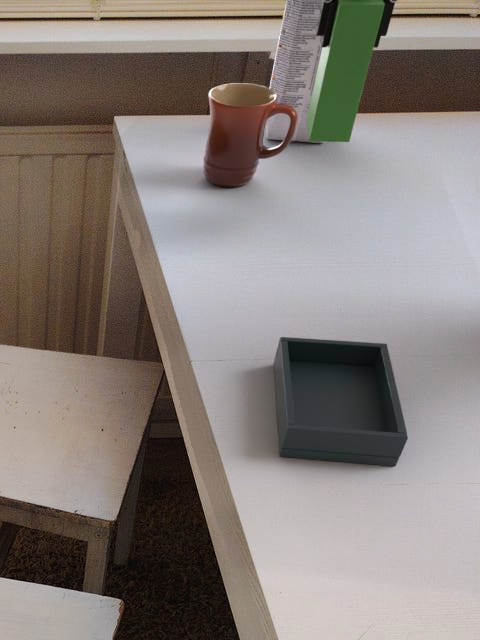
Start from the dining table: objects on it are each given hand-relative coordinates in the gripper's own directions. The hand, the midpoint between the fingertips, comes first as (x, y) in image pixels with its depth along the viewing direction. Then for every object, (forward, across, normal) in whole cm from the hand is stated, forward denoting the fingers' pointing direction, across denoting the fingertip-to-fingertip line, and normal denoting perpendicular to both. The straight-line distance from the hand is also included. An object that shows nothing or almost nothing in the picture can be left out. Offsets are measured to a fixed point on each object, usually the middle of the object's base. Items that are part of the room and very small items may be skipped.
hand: (348, 41), depth 90 cm
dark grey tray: (+20, 0, +41) cm, 45 cm away
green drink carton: (+9, 0, 0) cm, 9 cm away
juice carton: (+19, 0, -30) cm, 36 cm away
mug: (+20, +8, -13) cm, 25 cm away
